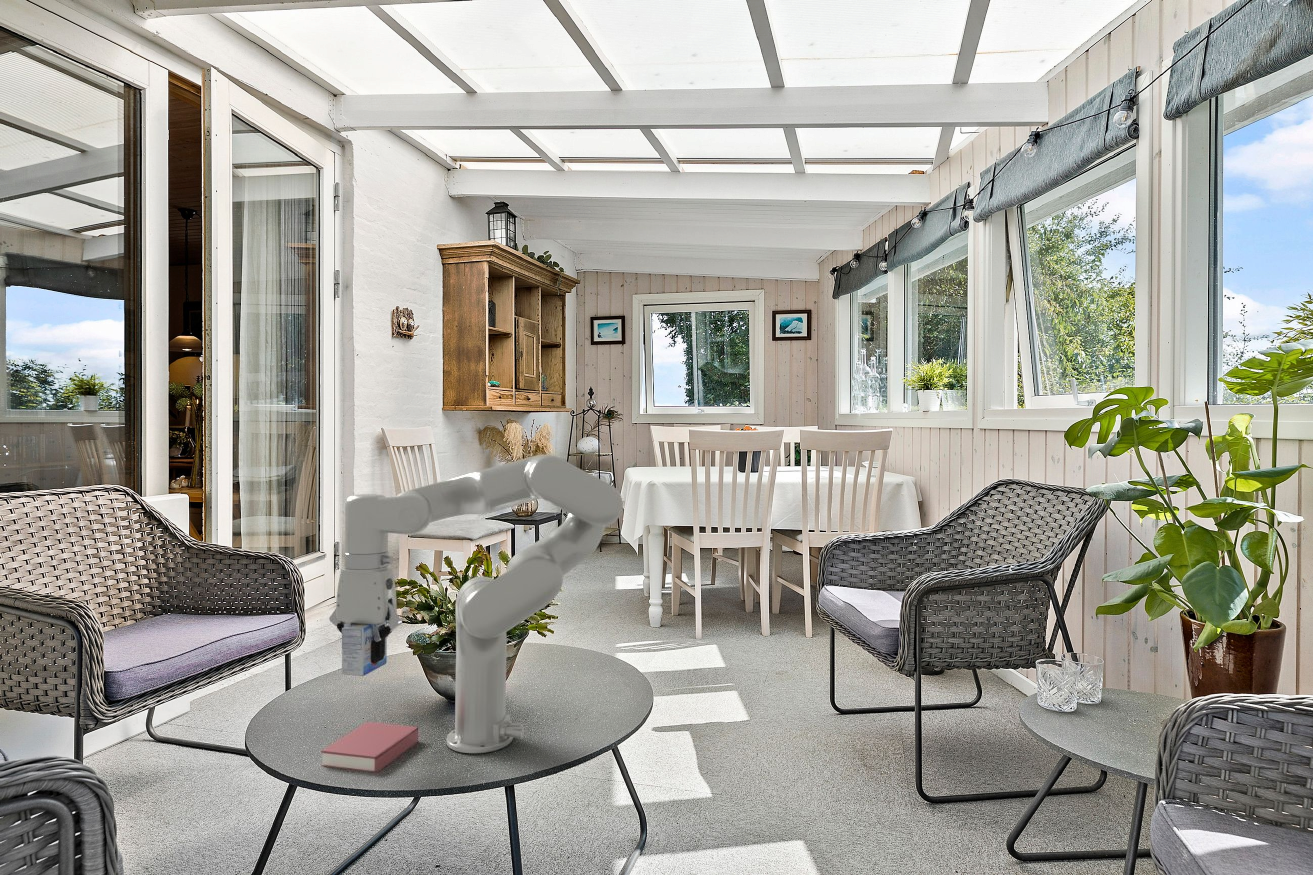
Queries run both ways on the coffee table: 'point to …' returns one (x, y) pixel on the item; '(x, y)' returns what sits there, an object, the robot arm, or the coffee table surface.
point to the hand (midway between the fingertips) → (364, 659)
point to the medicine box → (359, 650)
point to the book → (370, 747)
